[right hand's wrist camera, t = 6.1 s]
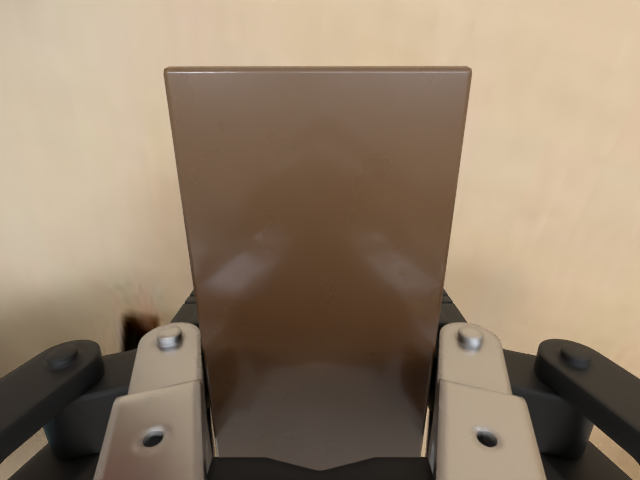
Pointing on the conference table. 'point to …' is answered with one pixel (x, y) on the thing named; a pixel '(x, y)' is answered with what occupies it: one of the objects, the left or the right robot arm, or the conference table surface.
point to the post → (318, 249)
